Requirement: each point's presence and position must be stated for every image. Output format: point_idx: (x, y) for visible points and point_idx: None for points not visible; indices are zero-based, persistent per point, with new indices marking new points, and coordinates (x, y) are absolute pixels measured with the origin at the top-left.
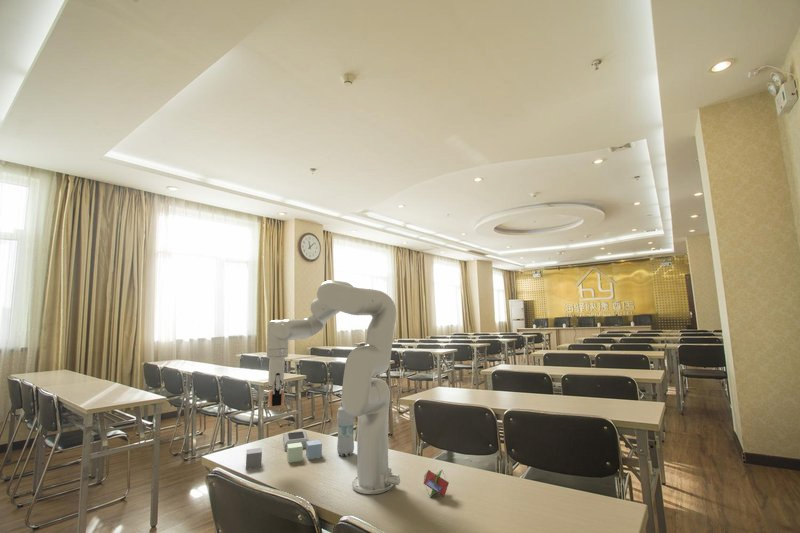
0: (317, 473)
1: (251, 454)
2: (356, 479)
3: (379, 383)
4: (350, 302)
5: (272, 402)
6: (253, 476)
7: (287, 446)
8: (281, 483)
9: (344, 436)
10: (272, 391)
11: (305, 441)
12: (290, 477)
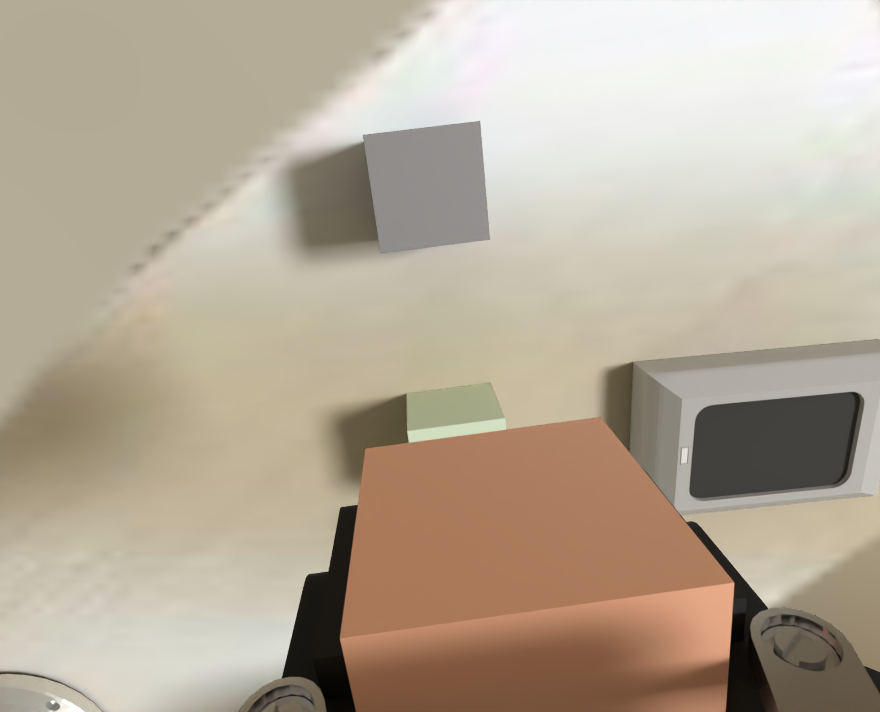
0: (207, 540)
1: (370, 175)
2: (41, 702)
3: None
4: None
5: (335, 545)
6: (233, 207)
7: (480, 417)
8: (100, 375)
9: None
10: (496, 686)
11: None
12: (177, 416)
